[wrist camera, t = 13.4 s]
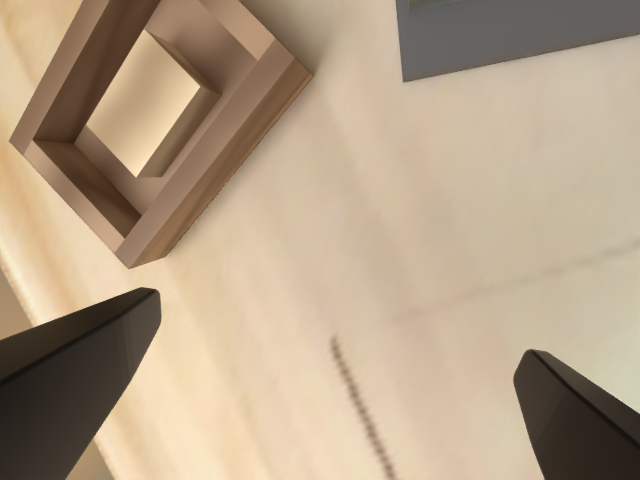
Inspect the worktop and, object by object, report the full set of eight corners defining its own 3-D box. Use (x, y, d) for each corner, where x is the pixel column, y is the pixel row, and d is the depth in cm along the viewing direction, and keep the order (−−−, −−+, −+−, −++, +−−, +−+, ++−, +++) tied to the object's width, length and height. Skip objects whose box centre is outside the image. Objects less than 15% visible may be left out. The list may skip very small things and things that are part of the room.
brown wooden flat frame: (313, 75, 18) (295, 57, 15) (165, 256, 22) (128, 269, 19) (180, -58, 18) (137, -102, 15) (60, 145, 22) (8, 140, 19)
